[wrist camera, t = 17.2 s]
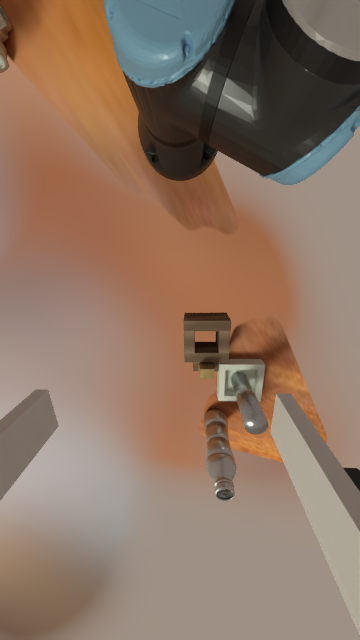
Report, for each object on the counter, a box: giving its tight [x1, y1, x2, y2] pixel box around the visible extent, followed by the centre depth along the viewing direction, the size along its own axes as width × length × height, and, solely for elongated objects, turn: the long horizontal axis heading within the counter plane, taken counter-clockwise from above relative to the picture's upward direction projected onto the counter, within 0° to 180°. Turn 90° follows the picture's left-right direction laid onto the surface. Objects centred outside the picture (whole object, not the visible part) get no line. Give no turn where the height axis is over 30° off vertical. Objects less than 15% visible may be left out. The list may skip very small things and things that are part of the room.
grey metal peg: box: [230, 372, 268, 434], centre depth 45 cm, size 4×4×15 cm
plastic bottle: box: [203, 409, 236, 501], centre depth 48 cm, size 6×7×20 cm
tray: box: [217, 359, 265, 402], centre depth 51 cm, size 11×11×3 cm
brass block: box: [199, 362, 214, 379], centre depth 47 cm, size 2×3×8 cm
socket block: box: [184, 313, 231, 371], centre depth 47 cm, size 13×10×6 cm
